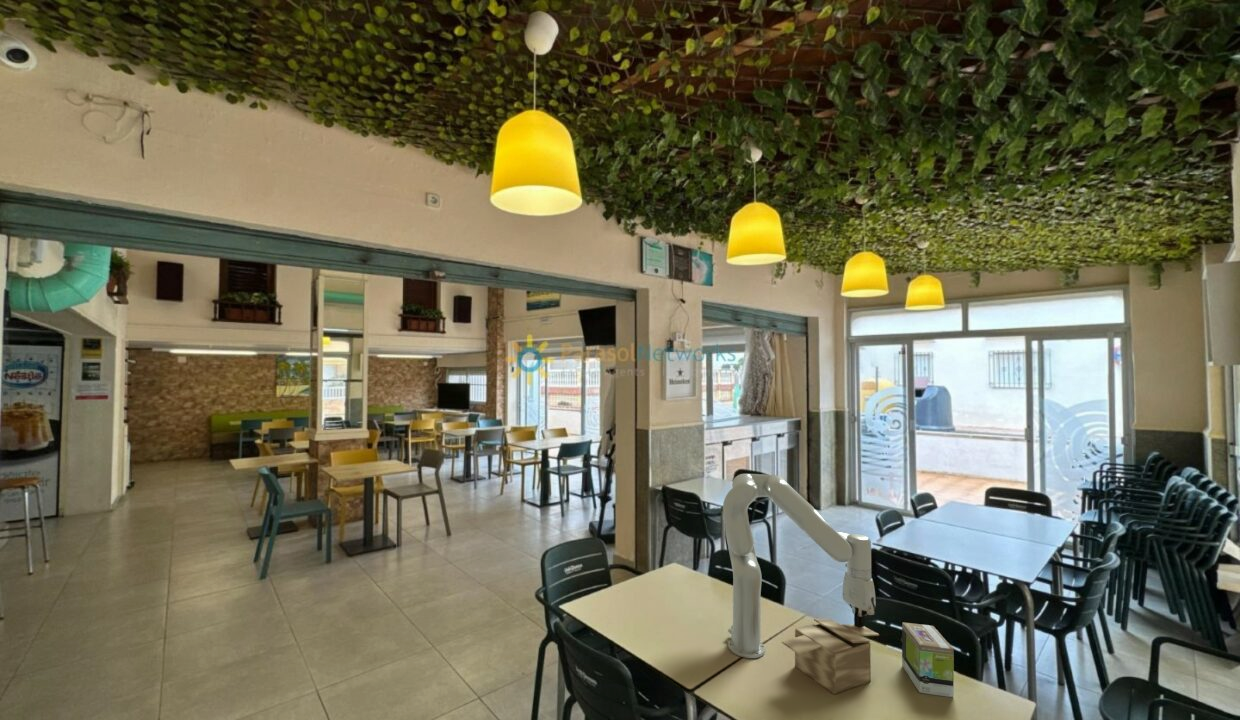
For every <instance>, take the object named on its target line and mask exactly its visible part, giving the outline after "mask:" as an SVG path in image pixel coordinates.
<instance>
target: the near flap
mask: <svg viewBox="0 0 1240 720" xmlns="http://www.w3.org/2000/svg"><path fill="white" fill-rule="evenodd" d="M795 630H796V631H798V632H800V633H801V634H803V635H802V636H799V637H795V636H794V637H792V638H788V639H785V640H782V641H781V644H783V645H784V646H785V647H787V648H788V649H790V650H791V651H793V652H794V653H795V652H796V653H797V654H801V653H804V652H808V651H811V650H814V649H818V648H821V646H822V647H823V648H825V649H826V650H828V651H830V652H831V653H833V654H835V653H838V652H841V651H845V650H848V649H851V648H852V646H850V645H848V644H846V643H845V642H843V641H841V640H840V639H838V638H836V637H835V636H833V635H831V634H830V633H828V632H826V631H825V630H823V629H821V628H819V627H818V626H816V625H815V624H814V623H812V624H808V625H804V626H801V627H797V628H795Z"/></svg>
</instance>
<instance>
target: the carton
mask: <svg viewBox="0 0 1240 720" xmlns="http://www.w3.org/2000/svg"><path fill="white" fill-rule="evenodd" d="M814 625H816V626H818V627H819V628H821V629H823V630H825V631H826V632H828V633H830V634H831V635H833V636H835V637H836V638H838V639H840V640H841V641H843V642H845V643H846V644H848V645H850V646H852V648H851V649H848V650H845V651H841V652H838V653H835V654H833V653H831V652H830V651H828V650H826V649H825V648H823V647H822V646H821V648H818V649H814V650H811V651H808V652H804V653H801V654H797V653H796V652H794V667H795V668H796V669H798V670H800V671H801V672H802V673H804V674H805V675H806V676H808V678H810V679H812V680H813V681H815V682H816V683H817V684H819V686H821V687H823V688H825V689H826V690H827V691H829V692H830V693H831V694H833V695H837V694H840V693H843V692H847V691H848V690H851V689H855V688H857V687H859V686H863V685H865V684H866V685H867V684H869V683H871V680H872V679H871V677H872V676H871V675H872V674H871V673H872V672H871V669H872V666H871V643H870V642H867V643H852V642H850V641H848V640H847V639H845V638H843V637H842V636H840V635H838V634H836V633H835V632H833V631H831V630H830V629H828V628H826V627H824V626H823V625H821V624H819V623H818V622H817V623H815V624H814ZM802 635H803V634H801V633H800V632H798V631H796V629H795V630H794V638H795V637H799V636H802Z"/></svg>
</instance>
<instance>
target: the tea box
mask: <svg viewBox="0 0 1240 720" xmlns="http://www.w3.org/2000/svg"><path fill="white" fill-rule="evenodd" d="M901 635H902V636H901V666H902V668H903V669H904V671H905V672H906V674H907V676H909V678H910V680H911V682H912V683H913V685H914V686H915V687H916V689H917V691H918V692H919V693H921V694H927V695H934V696H938V697H939V696H940V697H941V696H942V697H949V698H953V697H954V690H955V689H954V687H955V686H954V677H955V676H954V675H955V674H954V668H955V667H954V666H955V664H954V662H955V661H954V660H955V659H954V656H955V655H954V651H955V650H954V648H953V647H952V645H951V644H950V643H949V642H948V641H947V640H946V639H945V637H943V635H942V634H941V633H940V632H939V630H938V629H936V627H935V626H934V625H929V624H919V623H911V622H905V621H904V622H902V624H901Z"/></svg>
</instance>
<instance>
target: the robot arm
mask: <svg viewBox="0 0 1240 720" xmlns="http://www.w3.org/2000/svg"><path fill="white" fill-rule="evenodd" d="M757 498H768V499H769V500H770V501H771V502H772V503H773V504H774V505H775V506H777V508H779V509H780V510H781V511H782V512H783V513H784V514H785V515H786V516H787V517H788V518H789V519H790V520H791V521H792V522H793V523H794V524H795V526H798V528H799V529H800V530H801V531H802V532H804V533H805V534H806V535H807V536H808V538H809V537H810V539H811V540H812V541H813V542H814V543H816V544H817V545H818V546H819V547H820V548H821V549H822V550H823V551H824V552H825V554H827V556H829V557H830V558H831V559H832V560H834V561H836V562H837V563H845V562H846V563H845V565H844V566H845V567H844V568H846V571H845V573H844V576H843V582H842V593H841V595H842V599H843V601H844V602H845V604H847V605H848V606H849V607H850V609H851V612H852V614H853V623H854V624H853V625H854V626H857V627H858V628H861V627H864V626H865V625H866V616H867V615H868V616H872V615H875V608H876V591H875V585H874V581H873V578H872V541H871V539H870V537H868V536H867V535H864V534H861V533H860V534H859V533H845V532H840V531H836V530H835V529H834V528H833V527H832V526H831V525H830V524H829V523H828V522H827V521H826V520H825V519H824V518H823V517H822V516H821V514H820V513H819V511H818V510H817V509H815V508H814V506H813V505H812V504H811V503H809V502H808V500H806V499H805V498H804V497H803V496H802V495H801V494H799V492H797V490H795V489H794V488H793V487H792V486H791V485H790V484H789V483H788V482H787V481H786V480H785V478H783V477H782V476H780V475H777V474H759V473H740V474H738V475H737V476H734V478H733V480H732V488H731V489H730V490H729V491H728V492H727V494H726V496H725V497H724V500H723V505H722V512H723V518H724V526H725V537H726V542H727V548H728V552H729V558H730V564H731V568H732V579H733V581H732V584H733V585H732V586H733V587H732V625H731V626H730V628H728V629H727V633H728V634H730V636H731V638H730V639H729V640H728V645H727V646H728V650H729V651H730V652H732V654H734V655H736V656H738V657H741V658H745V659H757V658H761V657H762V656H764V655H765V654H766V647H765V645H764V644H763V642H761V609H762V607H761V605H762V604H761V598H762V597H761V596H762V595H761V592H762V579H763V578H762V571H761V567H760V564H759V562H758V559H757V555H756V549H755V545H754V544H755V543H754V542H755V540H754V536H753V532H752V530H751V525H750V521H749V518H750V517H749V513H748V509H749V506H750V505H751V504H752V503H753V502H754V501H755V500H756V499H757ZM865 627H866V626H865Z"/></svg>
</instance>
